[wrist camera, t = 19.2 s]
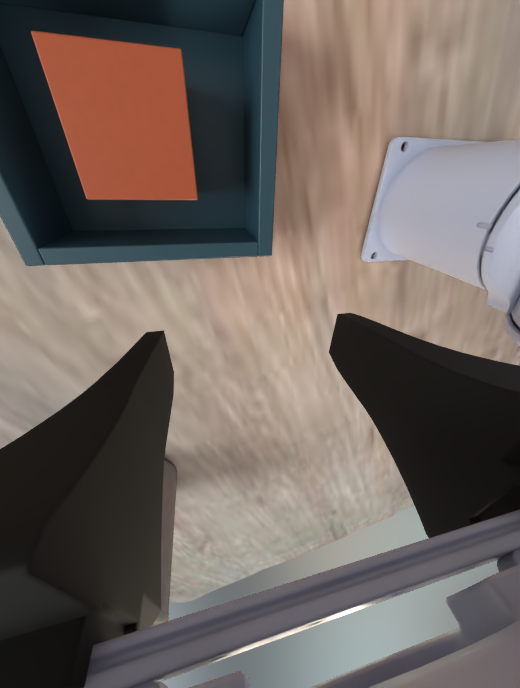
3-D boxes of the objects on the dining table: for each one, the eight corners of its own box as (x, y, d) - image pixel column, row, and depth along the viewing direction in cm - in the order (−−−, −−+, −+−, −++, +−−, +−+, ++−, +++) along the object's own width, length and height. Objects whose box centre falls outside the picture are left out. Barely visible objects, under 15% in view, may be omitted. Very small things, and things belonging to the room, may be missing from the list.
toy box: (255, 21, 12) (286, -55, 8) (254, 237, 18) (272, 256, 14) (-39, -24, 10) (-201, -161, 6) (68, 242, 15) (25, 266, 11)
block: (184, 85, 12) (181, 48, 8) (196, 193, 15) (198, 200, 11) (82, 76, 11) (29, 29, 8) (114, 193, 14) (86, 199, 10)
